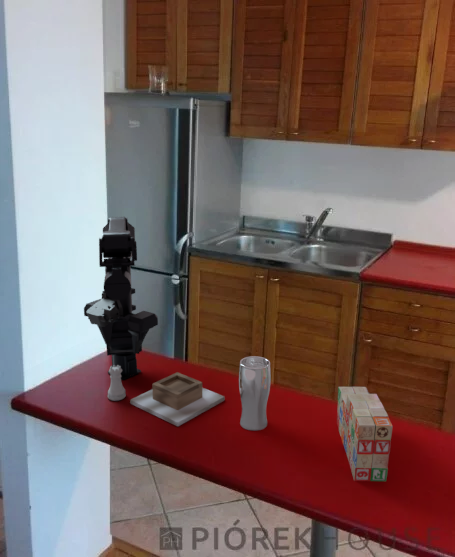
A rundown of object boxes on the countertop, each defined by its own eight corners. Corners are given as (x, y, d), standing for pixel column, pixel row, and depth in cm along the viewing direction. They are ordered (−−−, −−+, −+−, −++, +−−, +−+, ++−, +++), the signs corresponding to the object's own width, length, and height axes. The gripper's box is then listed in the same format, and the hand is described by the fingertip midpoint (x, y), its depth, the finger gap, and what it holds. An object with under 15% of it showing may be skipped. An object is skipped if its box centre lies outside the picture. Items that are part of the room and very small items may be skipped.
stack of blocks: (335, 423, 129) (339, 373, 126) (363, 423, 129) (367, 373, 126) (354, 482, 109) (358, 424, 105) (387, 482, 109) (393, 424, 105)
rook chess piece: (117, 403, 137) (115, 372, 135) (103, 398, 139) (101, 368, 137) (129, 395, 141) (128, 365, 139) (116, 391, 143) (114, 361, 141)
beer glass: (275, 423, 129) (277, 362, 125) (255, 435, 124) (256, 372, 120) (252, 412, 133) (253, 353, 129) (231, 423, 128) (232, 362, 124)
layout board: (130, 403, 137) (129, 384, 136) (177, 380, 149) (177, 363, 147) (177, 426, 127) (177, 406, 126) (224, 400, 139) (224, 381, 138)
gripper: (63, 287, 130) (68, 350, 135) (123, 303, 120) (126, 370, 125) (99, 276, 139) (103, 335, 144) (158, 289, 129) (160, 353, 134)
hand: (121, 348), depth 136 cm, fingers open, 9 cm apart
